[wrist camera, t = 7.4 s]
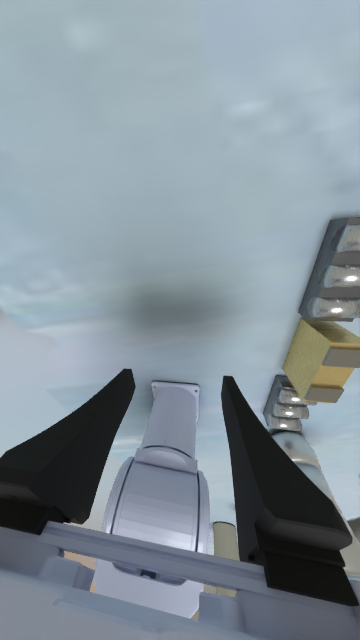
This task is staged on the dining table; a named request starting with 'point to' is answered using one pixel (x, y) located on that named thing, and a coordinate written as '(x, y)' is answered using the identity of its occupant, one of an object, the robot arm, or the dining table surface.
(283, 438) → the plastic bottle
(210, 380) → the dining table surface
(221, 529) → the travel mug
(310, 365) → the gold block
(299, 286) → the dining table surface
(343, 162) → the dining table surface
